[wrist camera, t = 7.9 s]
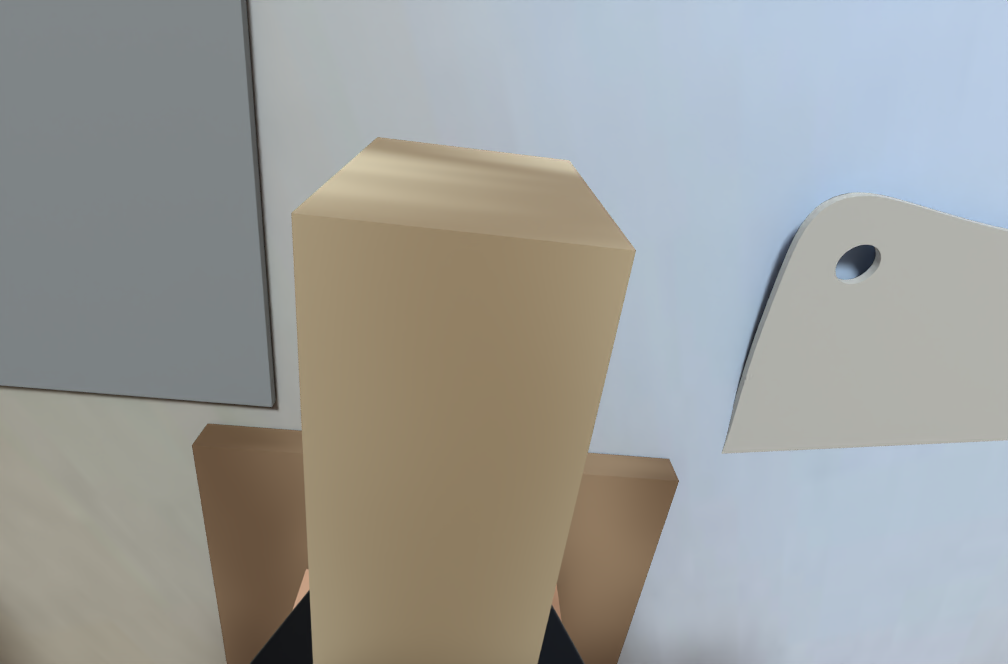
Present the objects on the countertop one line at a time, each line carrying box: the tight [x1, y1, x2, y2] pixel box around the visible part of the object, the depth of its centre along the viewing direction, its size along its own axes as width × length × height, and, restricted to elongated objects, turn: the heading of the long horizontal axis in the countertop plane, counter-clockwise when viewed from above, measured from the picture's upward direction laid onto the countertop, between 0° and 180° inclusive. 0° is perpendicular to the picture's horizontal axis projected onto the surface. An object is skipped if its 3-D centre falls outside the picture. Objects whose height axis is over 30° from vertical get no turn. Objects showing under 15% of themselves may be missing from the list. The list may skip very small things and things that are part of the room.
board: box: [192, 424, 679, 664], centre depth 20 cm, size 14×14×1 cm
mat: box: [0, 0, 275, 407], centre depth 12 cm, size 10×17×1 cm, turn 173°
